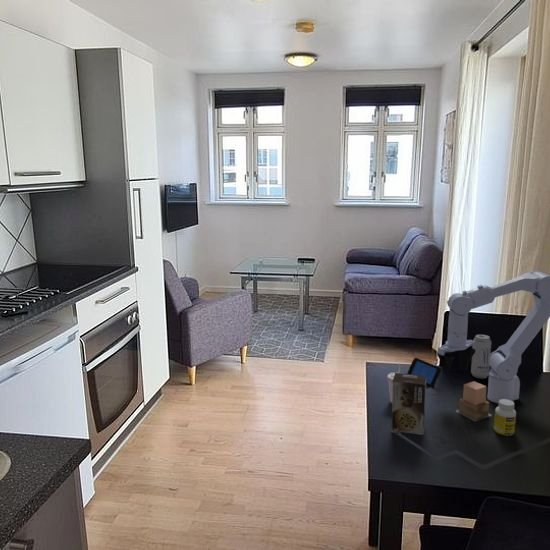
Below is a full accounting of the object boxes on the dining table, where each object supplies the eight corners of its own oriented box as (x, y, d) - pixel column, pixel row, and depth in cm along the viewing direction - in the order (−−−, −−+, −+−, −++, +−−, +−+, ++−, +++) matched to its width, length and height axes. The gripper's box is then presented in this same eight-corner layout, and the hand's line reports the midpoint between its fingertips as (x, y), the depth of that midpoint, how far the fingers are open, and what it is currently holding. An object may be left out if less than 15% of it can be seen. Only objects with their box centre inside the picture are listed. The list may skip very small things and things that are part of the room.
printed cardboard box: (424, 426, 146) (427, 375, 143) (423, 437, 140) (426, 384, 137) (393, 422, 149) (394, 371, 146) (390, 432, 143) (392, 380, 140)
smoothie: (407, 409, 157) (408, 367, 154) (386, 408, 158) (387, 366, 155) (406, 400, 163) (407, 360, 160) (386, 399, 164) (387, 359, 161)
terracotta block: (473, 396, 154) (474, 381, 153) (485, 401, 150) (486, 386, 149) (462, 399, 152) (463, 384, 151) (475, 405, 148) (476, 389, 147)
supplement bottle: (505, 440, 138) (508, 408, 136) (489, 432, 143) (491, 400, 141) (518, 435, 140) (521, 403, 138) (501, 427, 145) (504, 396, 143)
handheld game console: (392, 382, 177) (392, 363, 176) (413, 376, 183) (414, 356, 181) (418, 395, 167) (419, 374, 165) (441, 388, 172) (442, 367, 171)
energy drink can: (480, 380, 177) (482, 340, 174) (467, 374, 183) (469, 335, 180) (492, 377, 180) (495, 337, 177) (479, 371, 185) (482, 332, 182)
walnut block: (472, 406, 156) (473, 394, 155) (488, 414, 151) (489, 402, 150) (458, 411, 153) (459, 399, 152) (474, 419, 148) (475, 407, 147)
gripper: (463, 324, 165) (461, 363, 167) (431, 331, 158) (429, 371, 161) (481, 330, 158) (478, 370, 161) (448, 338, 152) (446, 379, 155)
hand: (455, 371), depth 161 cm, fingers open, 7 cm apart
